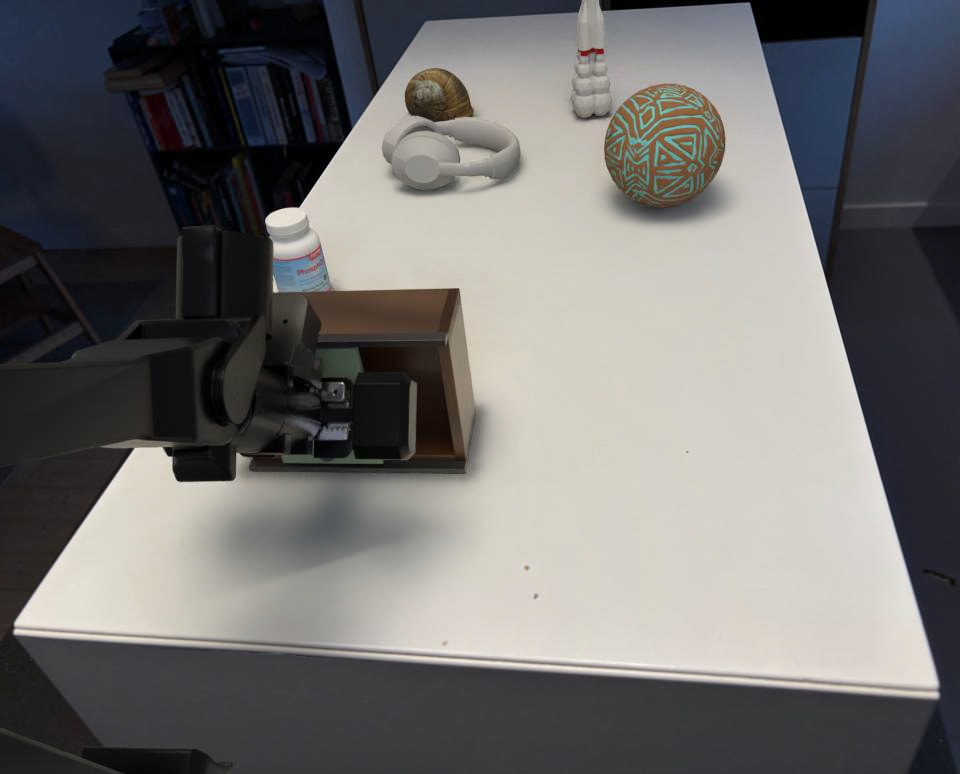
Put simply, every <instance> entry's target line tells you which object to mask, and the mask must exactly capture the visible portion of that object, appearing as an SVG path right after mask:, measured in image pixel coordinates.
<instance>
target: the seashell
mask: <svg viewBox="0 0 960 774" xmlns="http://www.w3.org/2000/svg"><path fill="white" fill-rule="evenodd" d="M404 103H405V107H406V110H407V112H408V114H409V116H419V117H423V118H426V119H428V120H430V121H433V122H434V123H435V122H442V121H449V120H455V118H461V117H472V115H474V108H473V106H472V102H471V98H470V95H469V91H468V90H467V88H466V86H465V84H464V83H463V82H462V81H461V80H460V78H459V77H458V76H457V75H455V74H454V73H453V72H451V71H449V70H448V69H444V68H439V67H431V68H426V69H424V70H423V69H422V71H421V70H420V71H419V72H417V73H415V75H413V76H412V78H411V79H409V82H408V83H407V85H406V87H405V90H404Z"/></svg>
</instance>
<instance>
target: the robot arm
mask: <svg viewBox="0 0 960 774" xmlns="http://www.w3.org/2000/svg"><path fill="white" fill-rule="evenodd" d="M269 237H270V236H267V235H257V234H252V233H247V232H241V231H232V230H222V229H220V228H219V227H217V226H216V225H213V224H212V225H197V226H196V225H195V226H183V227H182V229H181V235H180V236H178V237H177V240H176V271H175V272H176V276H175V277H176V278H175V279H176V280H175V283H176V284H175V317H174V318H164V319H163V318H162V319H161V318H160V319H142V320H141V319H139V320H135V321H133V323H132V324H130V326H129V327H128V328H127V329H126V330H124V332H123V333H121V334H120V335H119V336H118V337H117V338H116V339H113V340H107V341H104V342H101V343H97V344H94V345H91V346H87V347H84V348H82V349H78V350H76V351H75V352H74V353H73V354H72V355H71V358H68V359H66V360H63V361H58V362H57V361H56V362H23V363H0V468H6V467H10V466H15V465H20V464H24V463H29V462H33V461H34V462H35V461H39V460H44V459H48V458H53V457H57V456H62V455H67V454H71V453H76V452H81V451H85V450H90V449H95V448H104V449H105V448H106V449H145V448H146V449H147V448H162V450H163V451H164V453H165V455H166V456H167V458H172V459H171V461H172V462H171V471H172V473H173V476H174V478H175V480H176V482H178V483H204V482H207V483H211V482H214V483H215V482H233V481H234V480H235V479H236V477H237V454H239V455H240V456H242V457H243V458H252V457H276V456H278V455H313V440H314V455H313V457H314V458H347V457H348V456H350V455H351V454H352V452H354V455H355V459H365V460H408V459H409V458H410V457H411V456H412V455H413V454H414V453H415V449H416V406H417V382H416V381H415V380H414V379H413V378H412V377H411V376H410V375H408V374H406V373H404V372H358V374H357V377H356V379H355V382H354V385H353V382H352V380H351V379H349V378H346V377H322V371H321V370H318V369H315V368H314V359H315V354H316V348H317V342H318V337H319V332H320V331H321V325H322V323H321V320H320V318H319V317H318V315H317V313H316V312H315V310H314V308H313V307H312V305H311V303H310V302H309V300H308V299H307V297H306V296H305V295H304V294H302V293H298V292H290V293H273V292H274V275H273V243H274V242H273V241H272V240H271V239H270V238H269ZM233 766H234V764H233V762H228V761H224V762H223V761H222V762H221V761H215V760H214V759H213V758H212V756H211V755H210V754H208V753H206V752H204V751H202V750H200V749H197V748H183V747H182V748H181V747H180V748H179V747H177V748H175V747H135V746H134V747H133V746H132V747H130V746H129V747H128V746H124V747H123V746H119V747H118V746H83V747H82V751H81V757H80V756H78V755H75V754H72V753H69V752H66V751H64V750H61V749H58V748H56V747H53V746H50V745H49V744H45V743H42V742H40V741H37V740H35V739H32V738H29V737H26V736H24V735H21V734H19V733H16V732H13V731H11V730H7V729H5V728H2V727H0V774H231V772H232V771H233V768H234V767H233Z"/></svg>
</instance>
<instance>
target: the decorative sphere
mask: <svg viewBox="0 0 960 774" xmlns="http://www.w3.org/2000/svg"><path fill="white" fill-rule="evenodd" d="M603 143H604V145H603V152H604V155H603V156H604V162H605V166H606V169H607V171H608V173H609V175H610V177H611V180H612V181H613V182H614V184H615V185H616V187H617V188H618V189H619V190H620V191H621V192H622V193H623V194H624V195H625V196H626V197H628V198H629V199H630V200H632V201H634V202H637V203H639V204H642V205H645V206H649V207H657V208H667V207H675V206H678V205H682V204H684V203H686V202H689V201H690V200H692V199H694V198H696V197H697V196H699V195H700V194H701V193H703V191H704V190H705V189H707V188H708V186H709V185H710V184H711V183H712V182H713V180H714V179H715V178H716V176H717V174H718V172H719V171H720V169H721V166H722V164H723V160H724V156H725V154H726V153H725V152H726V132H725V126H724V123H723V120H722V117H721V114H720V113H719V111H718V109H717V108H716V107H715V106H714V104H713V103H712V102H711V101H710V100H709V99H708V97H706V96H705V95H704V94H702V93H701V92H700V91H697V90H696V89H695V88H692V87H690V86H687V85H683V84H682V85H681V84H678V83H660V84H654V85H650V86H648V87H645V88H643V89H641V90H639V91H637V92H635V93H633V94H632V95H631V96H629V97H628V98H627V99H626V100H625V101H623V103H622V104H621V105H619V107H618V108H617V110H616V111H615V113H614V114H613V116H612V118H611V119H610V121H609V124H608V126H607V130H606V133H605V137H604V141H603Z"/></svg>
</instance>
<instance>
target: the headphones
mask: <svg viewBox="0 0 960 774" xmlns="http://www.w3.org/2000/svg"><path fill="white" fill-rule="evenodd" d="M450 138H454V141H458V142H460V143H465V144H468V145H469V144H470V145H472V146H473V145H474V146H479V147H480V146H481V147H485V148H488V149H490V150H494V151H497V153H493V154H492V155H490V156H489V157H487V158H484V159H480V160H476V161H470V162H467V163H466V162H465V163H462V162H461V155H460V151H459V149H458V147H457V146H456V144H455V142H453V141H452V140H451V139H450ZM381 152H382V155H383V156H382V157H383V158H384V159H385V161H386V162H387V163H388V164H389V165H390V166H391V167H392V171H393V172H394V175H396V177H397V179H399V181H401V182H402V183H403V184H405V185H407V186H408V187H411V188H413V189H418V190H423V191H427V190H428V191H429V190H436V189H439V188H442V187H444V186H446V185H448V184H449V183H450V182H452V181H453V180H454V179H455V177H485V178H489V179H490V180H504V179H506V178H507V177H509V176H510V175H512V174H513V173H514V172H515V170H516V169H517V167H518V166H519V164H520V161H521V157H522V156H521V155H522V154H521V153H522V151H521V146H520V141H519V139H518V137H517V136H516V134H515V133H514V132H513V131H511V130H510V129H509V128H508V127H506V126H503V125H501V124H500V123H498V122H496V121H491V120H486V119H484V118H479V117H474V116H470V117H461V118H455V120H449V121H440V122H438V121H436V122H433V121H430V120H428V119H426V118H423V117H419V116H411V115H407V116H403V117H402V118H401V117H400V118H399V119H396V121H395V122H394V123H392V124H391V125H390V126H389V128H387V130H386V132H385V134H384V136H383V139H382V143H381Z"/></svg>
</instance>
